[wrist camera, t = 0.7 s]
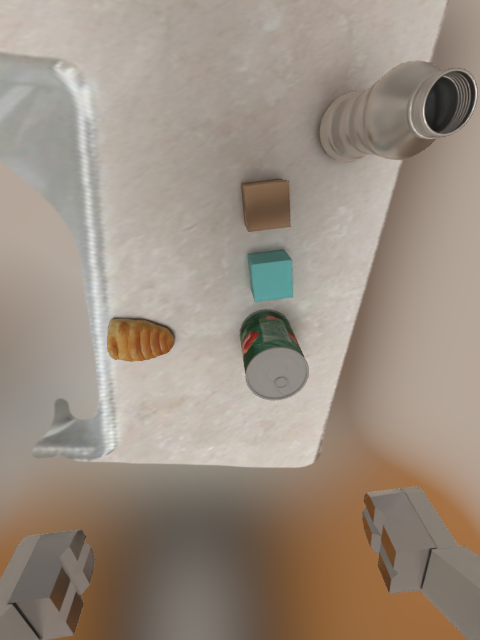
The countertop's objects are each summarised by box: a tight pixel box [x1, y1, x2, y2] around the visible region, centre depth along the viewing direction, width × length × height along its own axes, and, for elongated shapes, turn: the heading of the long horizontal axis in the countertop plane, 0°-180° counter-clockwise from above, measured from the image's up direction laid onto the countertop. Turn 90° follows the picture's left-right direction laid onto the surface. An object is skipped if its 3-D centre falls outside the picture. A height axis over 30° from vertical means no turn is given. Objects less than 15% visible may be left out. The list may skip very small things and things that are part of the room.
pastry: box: [107, 319, 174, 361], centre depth 48 cm, size 9×7×4 cm
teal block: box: [248, 250, 293, 302], centre depth 44 cm, size 5×5×5 cm
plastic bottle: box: [320, 61, 478, 162], centre depth 30 cm, size 6×7×20 cm
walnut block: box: [241, 179, 291, 232], centre depth 40 cm, size 5×5×5 cm
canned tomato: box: [240, 310, 309, 400], centre depth 45 cm, size 8×8×11 cm
